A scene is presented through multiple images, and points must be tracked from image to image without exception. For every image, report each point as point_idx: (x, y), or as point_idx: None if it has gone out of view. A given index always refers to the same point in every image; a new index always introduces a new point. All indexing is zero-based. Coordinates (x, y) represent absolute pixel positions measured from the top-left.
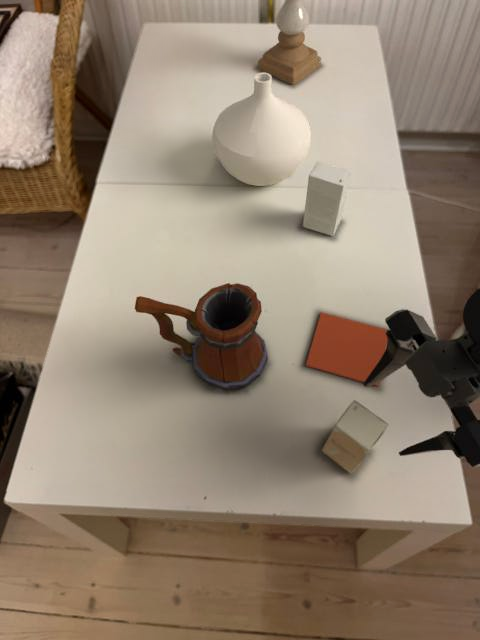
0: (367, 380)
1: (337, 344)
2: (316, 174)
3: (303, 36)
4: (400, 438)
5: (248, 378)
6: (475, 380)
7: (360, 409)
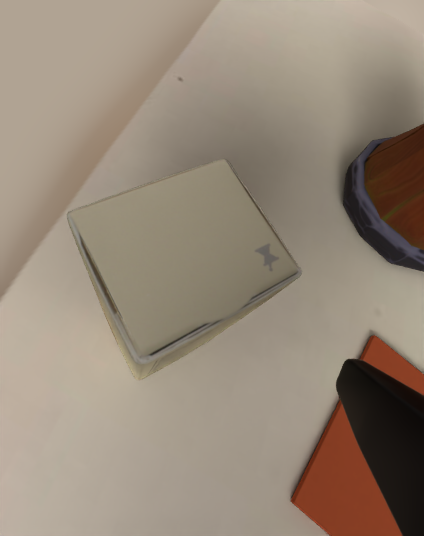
0: (379, 374)
1: None
2: None
3: None
4: (130, 496)
5: (366, 199)
6: None
7: (255, 272)
